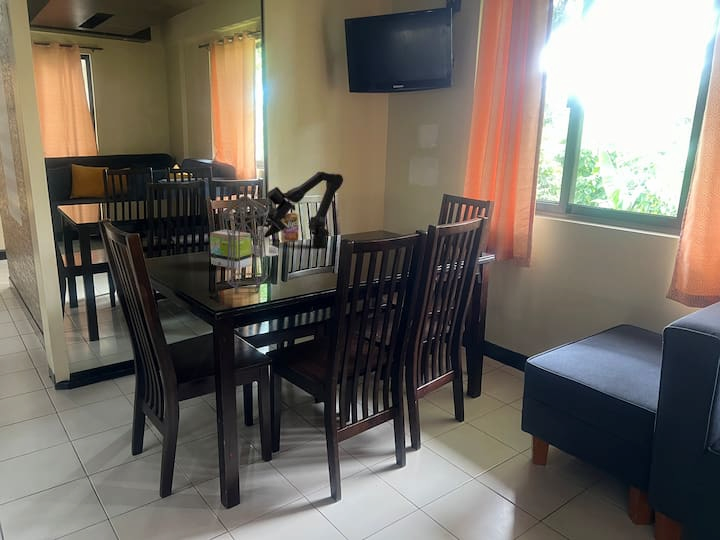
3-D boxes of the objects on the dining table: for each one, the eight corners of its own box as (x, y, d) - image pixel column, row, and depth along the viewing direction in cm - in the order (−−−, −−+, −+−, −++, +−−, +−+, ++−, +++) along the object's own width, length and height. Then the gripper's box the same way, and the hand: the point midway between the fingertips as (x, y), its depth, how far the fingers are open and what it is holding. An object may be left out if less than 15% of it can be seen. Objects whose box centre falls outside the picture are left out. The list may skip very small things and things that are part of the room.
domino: (257, 250, 256) (257, 226, 253) (263, 250, 258) (263, 225, 255) (263, 253, 251) (262, 228, 248) (269, 252, 253) (269, 227, 250)
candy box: (282, 242, 283) (282, 214, 279) (281, 240, 287) (280, 212, 283) (298, 241, 286) (298, 213, 282) (297, 240, 290) (296, 212, 286)
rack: (249, 252, 257) (249, 245, 257) (266, 250, 263) (266, 243, 262) (260, 257, 247) (260, 250, 246) (278, 255, 252) (278, 248, 251)
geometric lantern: (271, 285, 202) (270, 194, 194) (265, 297, 187) (263, 199, 178) (230, 284, 202) (226, 193, 193) (221, 297, 187) (217, 198, 178)
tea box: (210, 265, 230) (208, 232, 227) (226, 260, 239) (224, 228, 235) (237, 270, 224) (235, 235, 220) (252, 265, 232) (251, 232, 229)
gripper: (261, 197, 258) (241, 221, 255) (279, 202, 243) (257, 227, 240) (276, 212, 264) (256, 236, 261) (294, 218, 250) (273, 243, 246)
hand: (260, 235), depth 252 cm, fingers open, 9 cm apart
